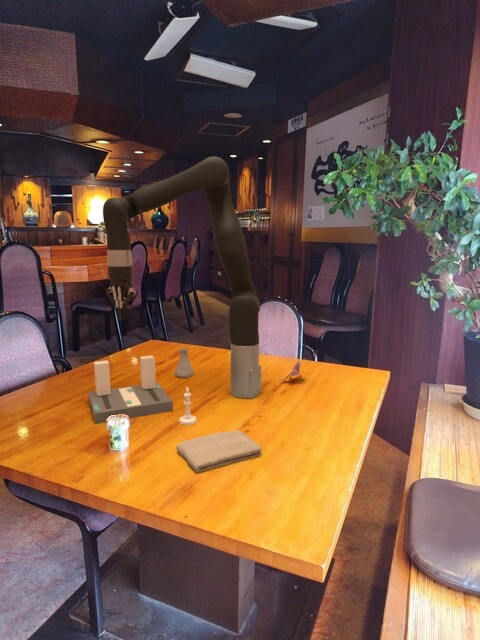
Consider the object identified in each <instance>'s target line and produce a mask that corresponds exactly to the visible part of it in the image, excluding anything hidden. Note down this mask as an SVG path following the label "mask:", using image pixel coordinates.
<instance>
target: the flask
mask: <svg viewBox="0 0 480 640" xmlns="http://www.w3.org/2000/svg"><path fill="white" fill-rule="evenodd" d="M178 351H179V357H178V359H179V360H178V361H177V365H176V368H175V370H174V374H173V375H174V376H175V377H177V378H184V379H187V378H191V377H193V376H194V375H195V372H194V369H193V367H192V365H191V362H190V359H189V356H188V355H189V354H188V351H189V349H188V348H179V349H178Z"/></svg>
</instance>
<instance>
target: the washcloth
mask: <svg viewBox="0 0 480 640" xmlns="http://www.w3.org/2000/svg"><path fill="white" fill-rule="evenodd" d="M261 448H262V446H261V445H259V444H258V443H256V442H255V441H254V440H253V439H251V438H250V437H249V436H248V435H247V434H246V433H245V432H244V431H240V430H237V429H235V430H233V431H226V432H222V431H217V432H215V433H212V434H208V435H202V436H199V437H196V438H192V439H188V440H184V441H182V442H180V443H179V444H178V443H177V446H176V448H175V449H176V450H177V452H178V453H179V455H180V456H182V458H183V459H185V460H186V461H187V464H188V465H189V467H191V469H193V471H194V472H196V473H198V474H199V473H200V474H201V473H203V472H206V471H209V470H213V469H214V470H215V469H217V468H221V467H224V466H228V465H231V464H235V463H238V462H241V461H246V460H249V459H253V458H257V457H261V456H262V453H261V451H262V449H261ZM202 471H203V472H202Z"/></svg>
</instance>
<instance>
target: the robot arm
mask: <svg viewBox="0 0 480 640" xmlns="http://www.w3.org/2000/svg"><path fill="white" fill-rule="evenodd" d="M199 190H203V191H204V195H205V196H206V199H207V203H208V206H209V211H210V218H211V229H212V235H213V241H214V244H215V248H216V252H217V256H218V259H219V262H220V264H221V266H222V268H223V270H224V272H225V275H226V276H227V279H228V282H229V285H230V291H231V298H232V300H231V302H230V304H229V307H228V323H229V324H228V325H229V326H228V328H229V329H228V333H229V338H230V339H229V340H230V394H231V396H233V397H235V398H238V399H251V400H252V399H254V398H256V397H257V396H259V395H261V392H262V365H260V362H259V361H260V357H259V356H260V335H259V314H260V310H261V303H260V300H259V296H258V295H257V294H258V293H257V291H256V289H255V286H254V282H253V279H252V275H251V270H250V262H249V257H248V250H247V243H246V240H245V236H244V233H243V228H242V225H241V222H240V220H239V217H238V215H237V212H236V209H235V207H234V204H233V199H232V193H231V187H230V169H229V166H228V164H227V162H226V161H225V160H224V159H223V158H221V157H219V156H215V155H213V156H208V157H207V158H205V159H203V160H201V161H200V162H198V163H196V164H195V165H193V166H191V167H189V168H187V169H186V170H184V171H181V172H180V173H177V174H175V175H173V176H171V177H168V178H165V179H162V180H159V181H157V182H154V183H152V184H148V185H146V186H142V187H140V188H139V189H136V190H133V192H132V193H131V194H128V195H126V196H123V197H120V198H118V197H110V198H107V199H106V201H104V203H103V207H102V218H103V222H104V227H105V228H104V229H105V233H106V247H107V249H106V250H107V251H106V252H107V253H106V264H107V279H108V280H109V281H110V282H109V287H108V288H105V289H104V292H105V294H106V296H107V297H108V300H109V301H110V303H111V305H112V306H115V307H116V309H117V318H118V320H123V321H124V320H127V318H128V307H130V306H132V305H133V303H134V302H135V300H136V299H137V296H138V294H139V291H138V290H135V289H134V288H133V284H132V280H133V279H134V273H133V257H132V249H131V245H132V243H131V236H130V232H129V231H128V224H127V223H128V221H129V220H132V219H134V218H136V217H138V216H139V215H142V214H143V213H144V214H145V213H147V212H150V211H153V210H156V209H159V208H161V207H163V206H165V205H167V204H170V203H172V202H174V201H176V200H177V199H179V198H181V197H183V196H185V195H188V194H190V193H193V192H196V191H199Z"/></svg>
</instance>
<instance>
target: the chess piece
mask: <svg viewBox="0 0 480 640" xmlns="http://www.w3.org/2000/svg"><path fill="white" fill-rule="evenodd" d="M191 396H192V393H190V390H189V387H187V386H186V387H185V393H183V397H184V401H183V404H184V405H185V411H184V415H183V416H182V415H181V417H179V419H178V423H179V424H181V425H183V426H185V425H186V426H189V425H194V424H196V423H197V416H194V415H192V414H191V409H190V404H192V401H191Z"/></svg>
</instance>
